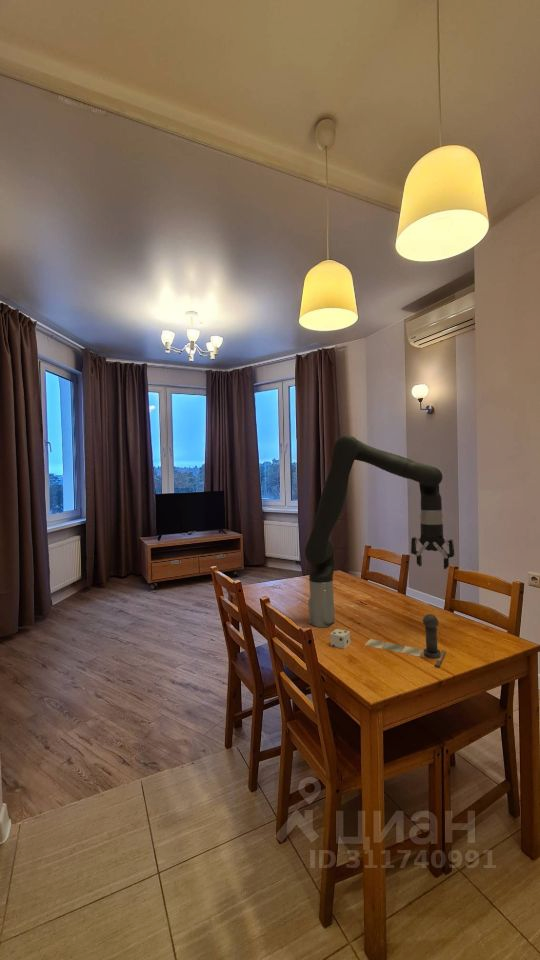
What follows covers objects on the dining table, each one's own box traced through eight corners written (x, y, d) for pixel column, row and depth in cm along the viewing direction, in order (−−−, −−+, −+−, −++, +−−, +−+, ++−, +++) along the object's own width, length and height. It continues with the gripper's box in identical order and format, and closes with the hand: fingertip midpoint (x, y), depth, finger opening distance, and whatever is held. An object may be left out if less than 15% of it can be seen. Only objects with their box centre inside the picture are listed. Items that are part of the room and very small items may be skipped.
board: (361, 650, 127) (360, 648, 127) (372, 638, 136) (372, 636, 136) (439, 667, 114) (439, 664, 114) (446, 653, 123) (446, 650, 123)
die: (330, 648, 130) (329, 633, 130) (337, 643, 134) (336, 628, 134) (344, 652, 127) (344, 636, 127) (350, 646, 131) (350, 631, 131)
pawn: (422, 656, 120) (420, 615, 120) (425, 650, 124) (423, 610, 124) (438, 659, 117) (436, 618, 117) (442, 653, 121) (440, 613, 121)
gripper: (408, 522, 140) (409, 567, 140) (451, 524, 132) (452, 571, 133) (413, 520, 147) (414, 563, 147) (454, 522, 139) (455, 567, 139)
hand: (432, 567), depth 140 cm, fingers open, 8 cm apart
